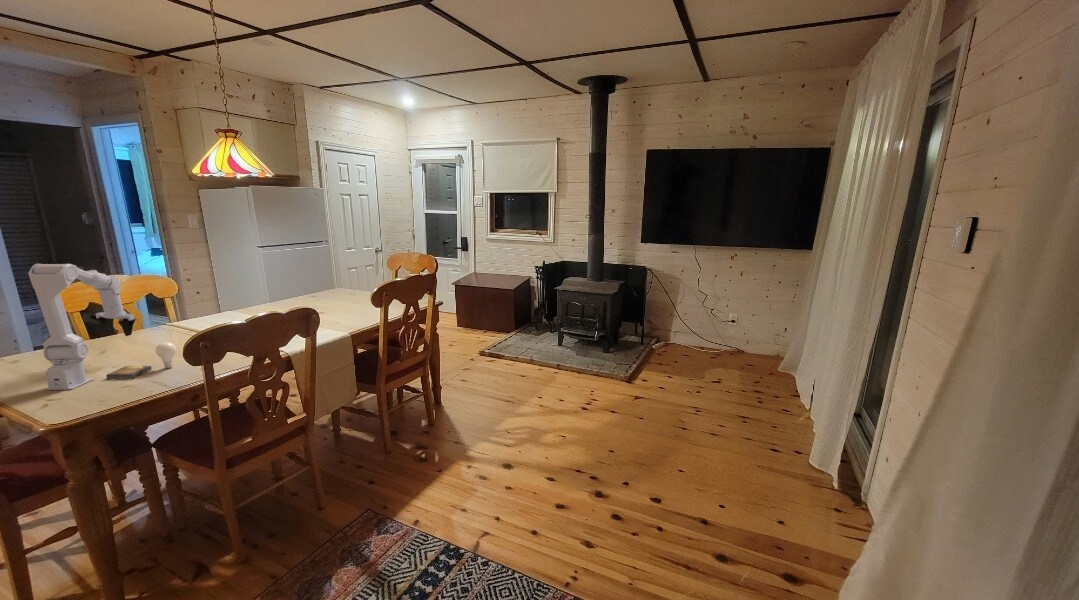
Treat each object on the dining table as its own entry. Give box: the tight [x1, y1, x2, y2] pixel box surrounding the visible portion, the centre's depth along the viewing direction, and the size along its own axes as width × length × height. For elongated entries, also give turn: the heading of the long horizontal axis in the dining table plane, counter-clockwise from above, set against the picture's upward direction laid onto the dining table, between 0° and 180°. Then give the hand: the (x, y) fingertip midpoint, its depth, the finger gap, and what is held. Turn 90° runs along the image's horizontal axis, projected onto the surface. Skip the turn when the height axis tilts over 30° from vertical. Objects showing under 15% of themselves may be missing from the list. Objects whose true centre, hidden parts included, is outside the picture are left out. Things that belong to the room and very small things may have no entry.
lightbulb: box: [154, 341, 177, 369], centre depth 172 cm, size 6×6×11 cm
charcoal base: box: [105, 365, 152, 380], centre depth 165 cm, size 9×9×2 cm
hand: (119, 334), depth 180 cm, fingers open, 7 cm apart
